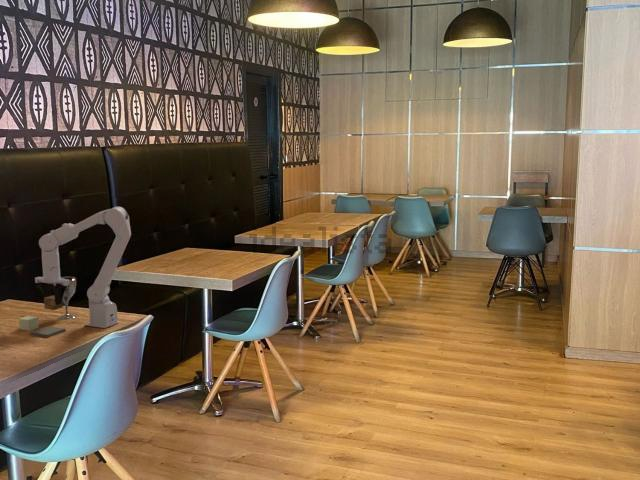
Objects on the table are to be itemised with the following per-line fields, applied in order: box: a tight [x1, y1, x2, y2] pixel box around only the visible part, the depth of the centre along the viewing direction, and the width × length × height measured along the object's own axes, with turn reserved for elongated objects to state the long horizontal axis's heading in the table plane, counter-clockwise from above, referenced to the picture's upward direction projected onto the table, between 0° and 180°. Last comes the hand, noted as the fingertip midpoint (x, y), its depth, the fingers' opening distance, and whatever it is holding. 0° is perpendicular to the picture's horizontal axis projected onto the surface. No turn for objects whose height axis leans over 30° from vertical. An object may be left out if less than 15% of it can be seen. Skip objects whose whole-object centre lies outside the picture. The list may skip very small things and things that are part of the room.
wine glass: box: [53, 276, 78, 320], centre depth 241 cm, size 8×8×15 cm
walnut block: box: [43, 295, 64, 311], centre depth 229 cm, size 4×4×4 cm
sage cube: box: [18, 315, 40, 332], centre depth 227 cm, size 4×4×4 cm
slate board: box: [29, 325, 66, 339], centre depth 221 cm, size 8×8×1 cm
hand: (53, 303), depth 229 cm, fingers closed on walnut block, 4 cm apart
